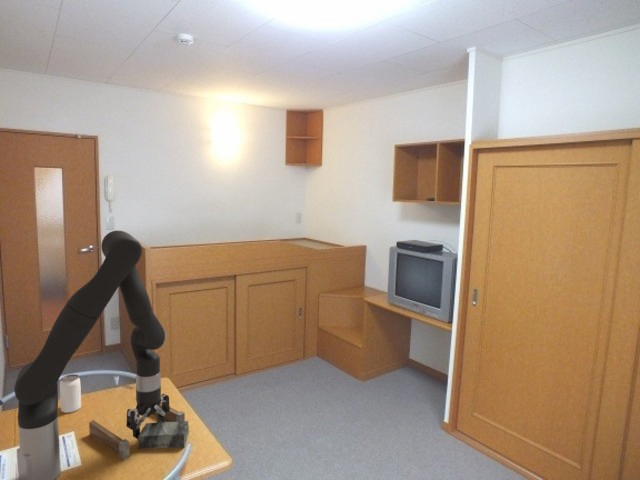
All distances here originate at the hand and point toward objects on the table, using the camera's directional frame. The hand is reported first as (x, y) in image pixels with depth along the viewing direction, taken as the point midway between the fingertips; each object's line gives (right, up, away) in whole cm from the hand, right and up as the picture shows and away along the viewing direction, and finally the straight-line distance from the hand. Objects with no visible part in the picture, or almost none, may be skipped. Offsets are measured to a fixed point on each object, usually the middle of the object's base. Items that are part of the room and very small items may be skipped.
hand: (149, 431), depth 138 cm
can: (-35, +1, +16) cm, 38 cm away
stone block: (+5, -3, 0) cm, 6 cm away
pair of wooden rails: (-5, -1, +4) cm, 7 cm away
